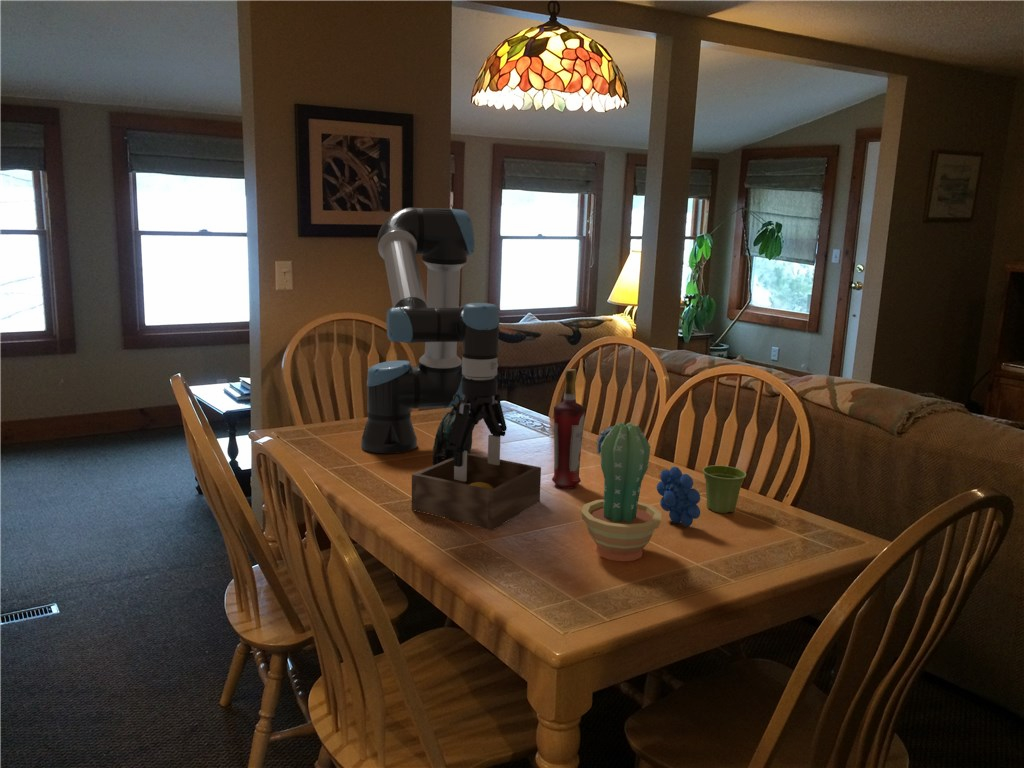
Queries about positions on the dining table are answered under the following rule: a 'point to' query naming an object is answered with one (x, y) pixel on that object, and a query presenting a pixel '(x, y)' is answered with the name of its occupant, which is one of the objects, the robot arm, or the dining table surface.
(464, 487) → the box
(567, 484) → the liquor
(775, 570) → the dining table surface
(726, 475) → the plant pot
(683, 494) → the grapes
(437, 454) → the dark green bag
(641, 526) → the potted cactus
